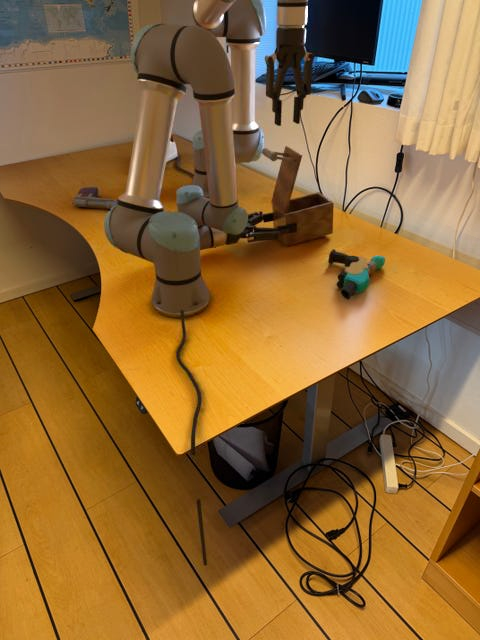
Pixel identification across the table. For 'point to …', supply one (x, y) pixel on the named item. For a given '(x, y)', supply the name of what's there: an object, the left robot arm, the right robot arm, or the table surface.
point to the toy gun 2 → (354, 272)
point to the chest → (305, 218)
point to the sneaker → (172, 149)
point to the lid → (284, 176)
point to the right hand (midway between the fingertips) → (287, 123)
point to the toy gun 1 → (92, 199)
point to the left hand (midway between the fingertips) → (288, 221)
